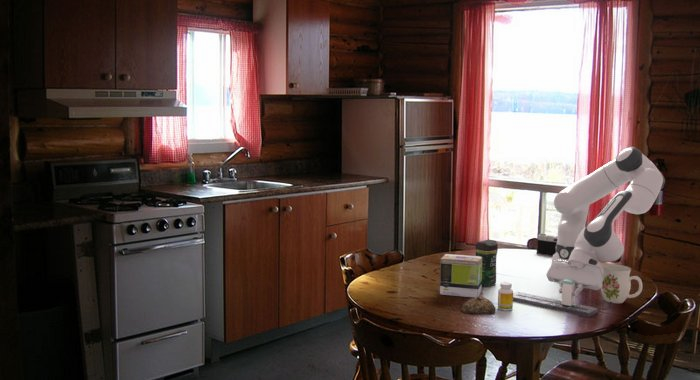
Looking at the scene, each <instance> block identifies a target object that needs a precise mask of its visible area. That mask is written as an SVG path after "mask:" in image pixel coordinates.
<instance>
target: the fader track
mask: <svg viewBox="0 0 700 380" xmlns="http://www.w3.org/2000/svg"><path fill="white" fill-rule="evenodd" d="M513 302H517V303H521V304H527V305H530V306H535V307H539V306H540V308H544V307H545V308H544V309H548V308H549V309H550V310H554V311H558V312H563V313H568V314H572V315H578V316H581V317H585V316H586V318H590V317H592V316H594V315H595V314H597V313H598V310H599V309H598V307H592V306H588V305H583V304H579V303H574V305H572V306H568V305H563V304H561V303H562V300H558V299H556V298H555V299H554V298H549V297H544V296H539V295H535V294H530V293H526V292H522V291H521V292H520V291H516V292H513Z"/></svg>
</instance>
